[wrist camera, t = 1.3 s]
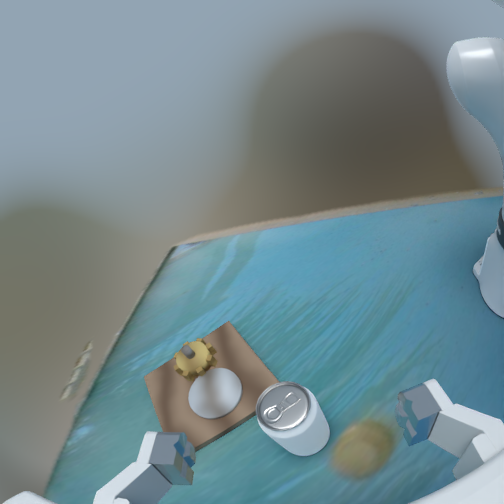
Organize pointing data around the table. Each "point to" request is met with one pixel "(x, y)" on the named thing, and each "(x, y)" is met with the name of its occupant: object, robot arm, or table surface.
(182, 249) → the table surface
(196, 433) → the board
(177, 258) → the table surface
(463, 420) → the robot arm
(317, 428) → the can
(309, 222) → the table surface
